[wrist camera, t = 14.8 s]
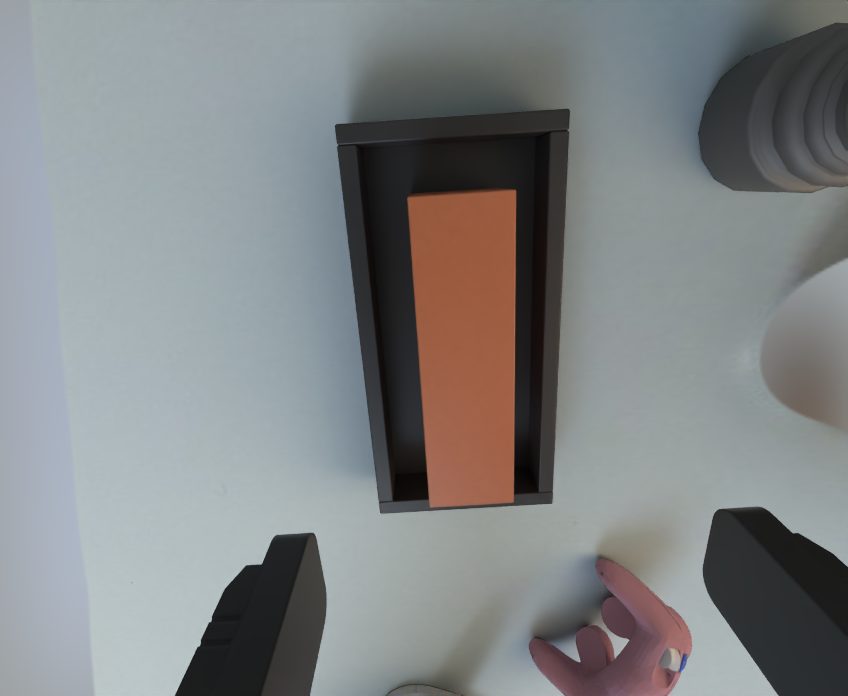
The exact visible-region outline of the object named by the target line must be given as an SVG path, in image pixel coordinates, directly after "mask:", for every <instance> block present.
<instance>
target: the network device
mask: <svg viewBox="0 0 848 696" xmlns="http://www.w3.org/2000/svg"><path fill="white" fill-rule="evenodd" d="M387 696H461V695H458V694H455V693H451V692H448V691H444V690H441V689H438V688H434V687H431V686H426V685H408V686H404V687H400V688H398V689H396V690H394V691H392V692H391V693H389V694H388V695H387Z"/></svg>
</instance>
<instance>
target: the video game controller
mask: <svg viewBox="0 0 848 696" xmlns="http://www.w3.org/2000/svg"><path fill="white" fill-rule="evenodd" d="M595 567H596V571H597V573H598V575H599V577H600V579H601V580H602V582H603V583H604V585H605V586H606V587H607V588H608V589H609V590H610V591H611V592H612V593H613V594H614V595H615V596H614V597H609V598H607V599H606V600H605V601H604V602H603V605H602V609H601V615H602V619H603V621H604V623H605V625H606V626H607V628H608V629H609V630H610V631H611V632H613V633H614V634H615V635H617V636H619V637H622V638H627V639H629V640H630V641H629V642H628V643H627V645H626V646H625V647H624V649H623V650H622V651H621V653H620V654H619V655H618V656H617V657H616V659H615V658H614V650H613V646H612V643H611V641H610V639H609V637H608V635H607V634H606V633H605V632H604V630H602V629H601V628H600V627H598V626H596V625H590V626H586V627H583V628H581V629H580V630H579V631H578V632H577V634H576V646H577V649H578V653H579V656H580V660H581V662H577V661H574V660H573V659H571V658H570V657H568V656H567V655H565V654H564V653H563V652H562V651H560V650H559V649H558V648H556V647H555V646H553V645H551V644H550V643H548V642H546V641H544V640H541V639H538V638H533V639H532V640H531V641H530V643H529V650H530V654H531V656H532V659H533V661H534V663H535V664H536V666H537V667H538V669H539V670H540V671H541V672H542V673H543V674H544V675H545V677H546V678H547V679H548V680H549V681H550V682H551V683H552V684H553V685H554V686H556V687H557V688H558V689H559V690H560V691H561V692H562V693H563V694H564V695H565V696H668V695H669V694H670V692H671V691H672V689H673V688H674V686H675V685H676V683H677V681H678V679H679V677H680V674H681V671H682V670H683V669H684V667H685V665H686V662H687V659H688V657H689V656H690V653H691V649H692V639H691V634H690V631H689V629H688V627H687V625H686V623H685V622H684V620H683V619H682V617H681V616H680V615H679V614H678V613H677V612H676V611H675V610H674V609H672V608H671V607H669V606H667V605H665V603H664V602H663V601H662V600H661V599H659V598H658V597H657V596H656V595H655V594H654V593H653V592H652V591H651V590H650V589H649V588H648V587H647V586H646V585H645V584H644V583H642V582H641V581H640V580H639V579H638V578H636V577H635V576H634V575H633V574H631V573H630V572H629V571H627V570H626V569H625V568H623V567H622V566H620V565H618V564H616V563H614V562H612V561H610V560H607V559H604V558H600V559H599V560H597V561H596V563H595Z"/></svg>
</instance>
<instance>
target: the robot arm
mask: <svg viewBox="0 0 848 696" xmlns="http://www.w3.org/2000/svg"><path fill="white" fill-rule="evenodd" d="M703 578H704V582H705V586H706V589H707V591H708V594H709V596H710V598H711V599H712V601H713V603H714V604H715V606H716V607H717V609H718V610H719V611H720V613H721V614H722V616H723V617H724V618H725V620H726V621H727V623H728V624H729V626H730V627H731V628H732V630H733V631H734V633H735V634H736V636H737V637H738V638H739V640H740V641H741V643H742V644H743V646H744V647H745V648H746V650H747V651H748V653H749V654H750V656H751V657H752V658H753V660H754V661H755V663H756V664H757V666H758V667H759V668H760V670H761V671H762V673H763V674H764V675H765V677H766V678H767V680H768V681H769V683H770V684H771V685H772V687H773V688H774V690H775V691H776V693H777V694H778V695H779V696H848V567H847V566H846V565H845V564H844V563H843V562H841V561H840V560H839V559H838V558H837V557H836V556H835V555H834V554H832V553H831V552H829V551H827V550H826V549H824V548H822V547H821V546H819V545H817V544H816V543H814V542H812V541H811V540H809V539H807V538H806V537H804V536H802V535H800V534H799V533H792V532H791V531H789V530H788V529H787V528H786V527H785V526H784V525H783V524H782V523H781V522H780V521H779V520H778V519H777V518H776V517H775V516H774V515H772V514H771V513H770V512H769V511H768V510H766V509H764V508H762V507H745V508H729V509H719V510H717V511H716V512H715V514H714V516H713V520H712V525H711V529H710V534H709V539H708V544H707V549H706V554H705V559H704V564H703ZM325 617H326V587H325V582H324V576H323V571H322V566H321V560H320V555H319V550H318V545H317V540H316V536H315V534H314V533H302V534H286V535H276V536H275V537H274V538H273V539H272V541H271V543H270V546H269V548H268V551H267V553H266V556H265V558H264V561H263V563H262V565H246V566H245V567H244V569H243V570H242V571H241V572H240V573H239V574H238V575H237V576H236V577H235V578H234V580H233V581H232V582H231V583H230V584H229V585H228V586H227V587H226V588H225V590H224V592H223V594H222V596H221V598H220V601H219V603H218V605H217V607H216V609H215V611H214V613H213V616H212V621H211V622H209V624H208V626H207V628H206V630H205V633H204V635H203V637H202V639H201V645H200V647H198V648H197V650H196V652H195V654H194V656H193V658H192V660H191V662H190V665H189V667H188V669H187V671H186V673H185V675H184V677H183V680H182V682H181V684H180V686H179V688H178V690H177V692H176V695H175V696H310V692H311V687H312V682H313V677H314V672H315V668H316V663H317V658H318V653H319V648H320V643H321V639H322V634H323V629H324V624H325Z"/></svg>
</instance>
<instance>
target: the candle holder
mask: <svg viewBox="0 0 848 696" xmlns="http://www.w3.org/2000/svg"><path fill="white" fill-rule="evenodd" d="M698 134H699V142H700V150H701V158H702V161H703V162H704V164H705V165H706V167H707V169H708V170H709V172H710V173H711V175H712V176H713V178H714V179H715V180H717V181H718V182H720V183H722V184H724V185H725V186H727V187H729V188H731V189H732V190H738V191H756V192H795V193H813V192H815V191H818V190H821V189H824V188H827V187H846V186H848V23H834V24H831V25H829V26H826V27H824V28H821V29H818V30H816V31H813V32H810V33H808V34H805V35H803V36H800V37H797V38H795V39H792V40H790V41H787V42H784V43H782V44H779V45H777V46H774V47H771V48H769V49H766V50H764V51H761V52H758V53H756V54H753V55H751V56H748V57H745V58H744V59H743V60H742V61H741V62H740V63H738V64H737V65H736V66H735V67H734V68H733V69H731V70H730V71H729V72H728V73H727V74H726V75H724V76H723V77H722V78H721V80H720V81H719V83H718V85H717V86H716V88H715V90H714V91H713V93H712V94H711V96H710V98H709V99H708V101H707V103H706V104H705V108H704V112H703V116H702V120H701V124H700V129H699V133H698Z"/></svg>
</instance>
